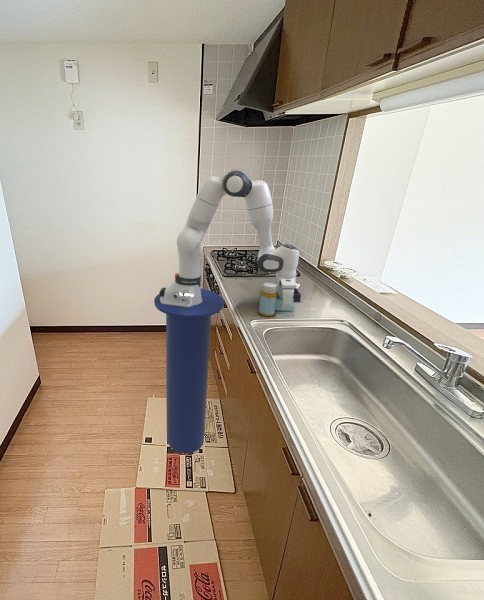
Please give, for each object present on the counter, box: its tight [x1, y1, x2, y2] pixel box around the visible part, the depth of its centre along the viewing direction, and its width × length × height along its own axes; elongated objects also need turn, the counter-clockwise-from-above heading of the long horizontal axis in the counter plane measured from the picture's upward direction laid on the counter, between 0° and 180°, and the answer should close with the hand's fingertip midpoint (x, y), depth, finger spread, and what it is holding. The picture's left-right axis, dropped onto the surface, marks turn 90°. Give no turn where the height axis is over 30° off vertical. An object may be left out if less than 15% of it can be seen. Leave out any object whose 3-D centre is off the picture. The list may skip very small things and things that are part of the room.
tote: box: [276, 287, 302, 303], centre depth 176 cm, size 15×15×4 cm
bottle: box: [258, 281, 277, 318], centre depth 153 cm, size 7×7×15 cm
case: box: [275, 295, 295, 312], centre depth 160 cm, size 9×5×6 cm, turn 82°
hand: (281, 305), depth 161 cm, fingers open, 8 cm apart
